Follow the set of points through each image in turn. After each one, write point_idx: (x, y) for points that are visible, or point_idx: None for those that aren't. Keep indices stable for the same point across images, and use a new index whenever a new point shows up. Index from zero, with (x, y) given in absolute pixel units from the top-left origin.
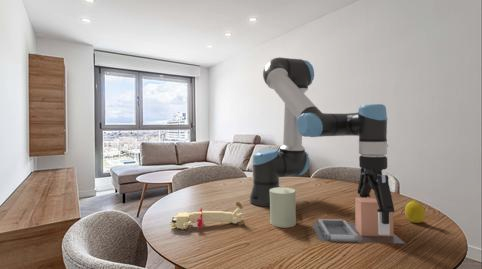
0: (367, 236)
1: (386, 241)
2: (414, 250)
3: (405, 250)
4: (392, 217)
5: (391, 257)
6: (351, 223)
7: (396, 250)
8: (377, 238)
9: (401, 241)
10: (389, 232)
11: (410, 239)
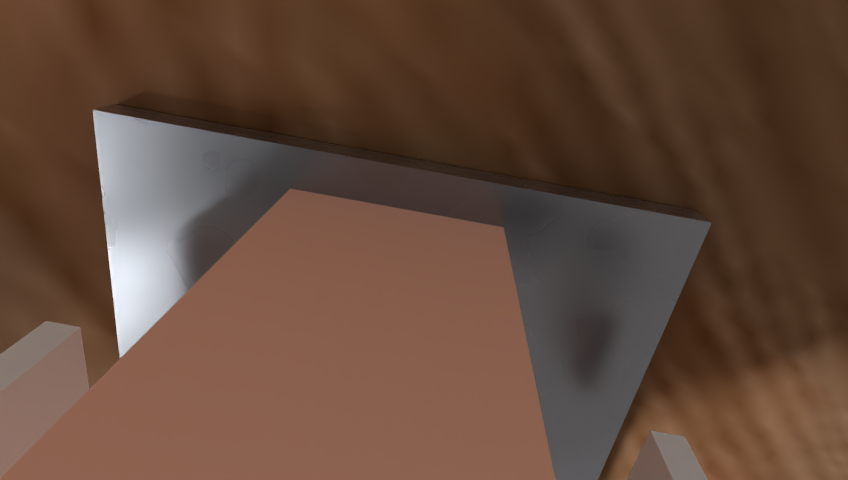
0: None
1: (605, 375)
2: (803, 181)
3: (765, 271)
4: (536, 410)
5: (815, 454)
6: None
7: (732, 347)
8: None
9: (651, 231)
10: (698, 466)
11: (548, 4)
